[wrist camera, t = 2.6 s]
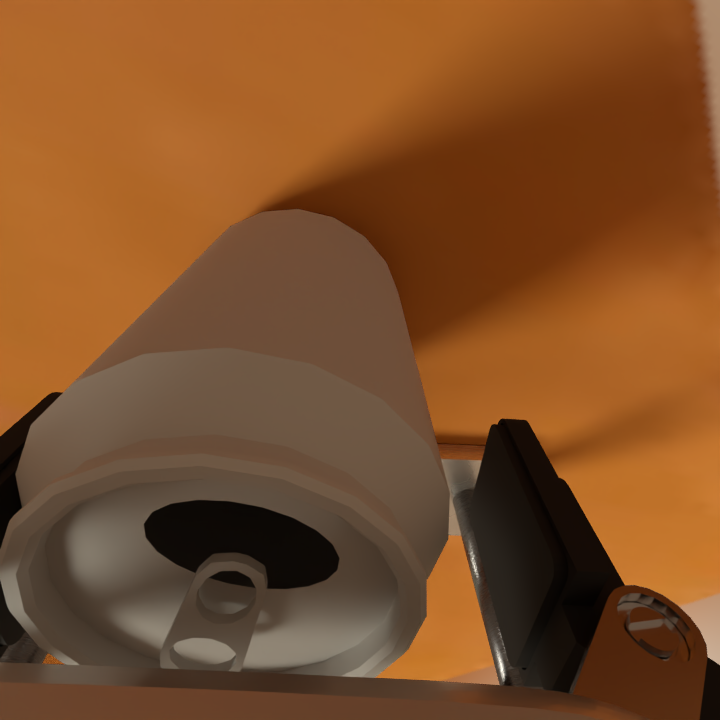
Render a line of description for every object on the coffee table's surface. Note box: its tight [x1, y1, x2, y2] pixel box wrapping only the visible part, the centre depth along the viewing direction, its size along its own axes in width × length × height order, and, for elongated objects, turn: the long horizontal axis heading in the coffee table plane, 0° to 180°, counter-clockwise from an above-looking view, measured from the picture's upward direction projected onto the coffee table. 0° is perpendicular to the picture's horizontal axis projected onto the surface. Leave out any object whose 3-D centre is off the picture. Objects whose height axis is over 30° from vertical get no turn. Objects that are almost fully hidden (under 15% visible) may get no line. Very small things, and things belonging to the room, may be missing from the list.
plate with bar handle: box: [0, 444, 544, 690], centre depth 15 cm, size 5×20×14 cm, turn 86°
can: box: [0, 209, 450, 678], centre depth 12 cm, size 8×8×12 cm
